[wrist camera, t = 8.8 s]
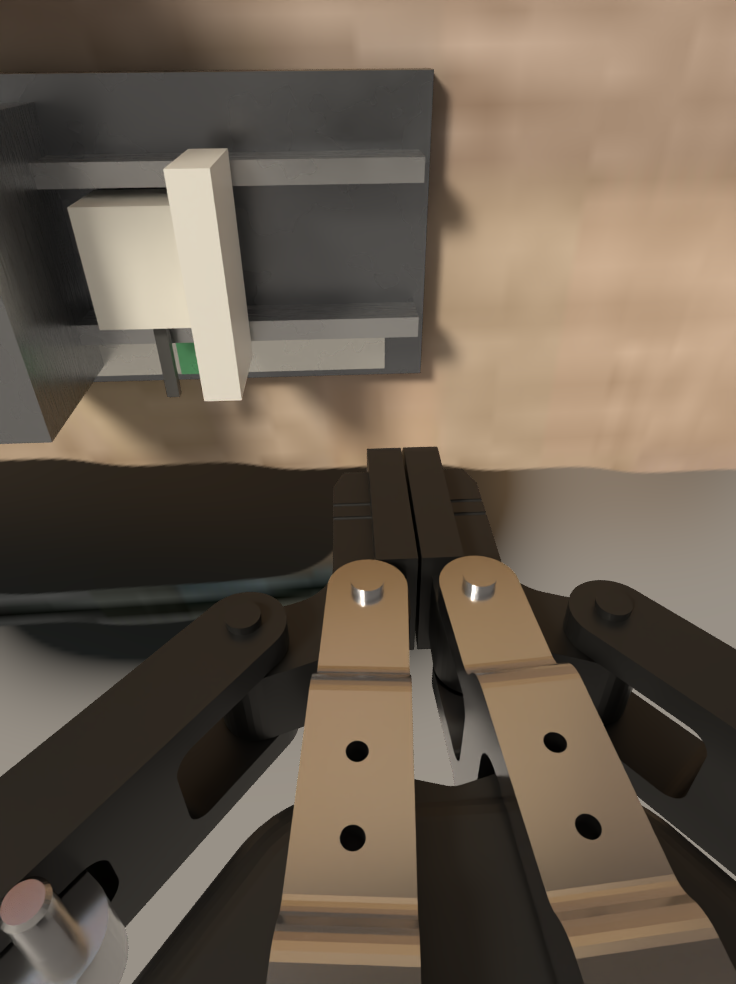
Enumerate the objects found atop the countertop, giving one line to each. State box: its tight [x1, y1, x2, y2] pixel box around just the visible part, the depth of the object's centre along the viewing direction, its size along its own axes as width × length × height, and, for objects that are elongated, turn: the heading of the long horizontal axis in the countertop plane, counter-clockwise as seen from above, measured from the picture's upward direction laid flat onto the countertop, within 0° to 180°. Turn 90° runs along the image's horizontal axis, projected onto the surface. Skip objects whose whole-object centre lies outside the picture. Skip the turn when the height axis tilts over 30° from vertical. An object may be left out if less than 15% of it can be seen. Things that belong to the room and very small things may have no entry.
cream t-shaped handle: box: [67, 148, 253, 401], centre depth 28 cm, size 7×11×7 cm, turn 0°
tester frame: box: [0, 68, 434, 444], centre depth 28 cm, size 21×14×9 cm, turn 90°
